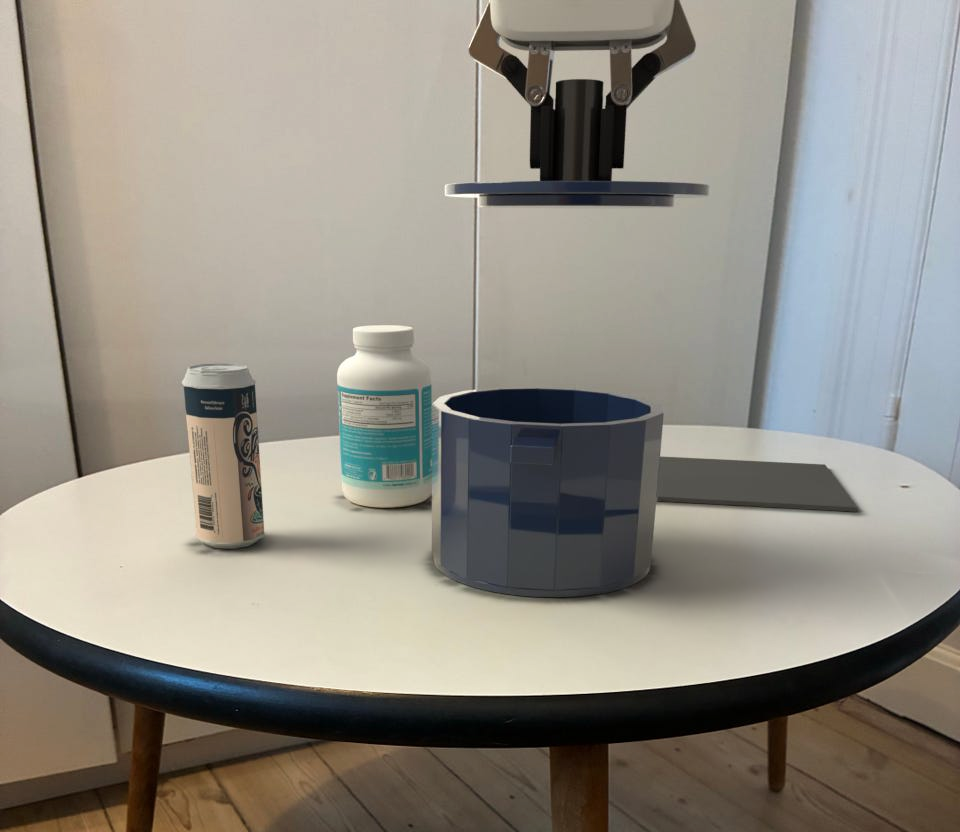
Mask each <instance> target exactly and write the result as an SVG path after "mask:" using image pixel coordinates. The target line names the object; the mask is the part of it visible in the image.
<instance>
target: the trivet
mask: <svg viewBox="0 0 960 832" xmlns="http://www.w3.org/2000/svg"><path fill="white" fill-rule="evenodd" d="M656 502H665V503H666V502H669V503H686V504H702V505H703V504H705V505H720V506H721V505H723V506H740V507H741V506H742V507H761V508H779V509H798V510H814V511H816V510H817V511H835V512H853V513H857V512H858V506H857V505H856V503H855V502H854V501H853V500H852V498H851V497H850V495H849V494H848V493H847V491H846V489H844V488H843V486H842V485H841V483H840V482H839V480H837V479H836V477H835V476H834V475H833V473H832V472H831V470H830V469H829V468H828V466H827V465H826V464H824V463H823V464H821V463H805V462H804V463H803V462H802V463H801V462H783V461H765V460H764V461H762V460H742V459H741V460H740V459H723V458H721V459H719V458H700V457H683V456H682V457H680V456H679V457H677V456H661V455H660V463H659V475H658V487H657V498H656Z"/></svg>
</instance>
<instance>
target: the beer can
mask: <svg viewBox="0 0 960 832" xmlns="http://www.w3.org/2000/svg"><path fill="white" fill-rule="evenodd" d="M181 384H182V386H183V395H184V405H185V416H186V418H185V419H186V428H187V441H188V451H189V460H190V461H189V464H190V472H191V474H190V475H191V484H192V495H193V497H192V498H193V507H194V519H195V530H196V533H195V538H196V539H197V540H198V541H199V542H201V543H203V544H205V545H206V546H207V547H210V548H215V549H222V550H223V549H226V550H229V549H241V548H246V547H249V546H252V545H254V544H256V543H257V542H258V541H259V540H260V539H262V538H263V537H264V536H265V535H266V532H265V521H264V506H263V505H264V503H263V490H262V489H263V488H262V475H261V474H262V473H261V459H260V441H259V440H260V439H259V427H258V426H259V425H258V424H259V423H258V410H257V397H256V396H257V393H256V380H255V379H254V378H253V377H252V375H251V373H250V369H249V368H248V366H247V365H246V364H239V363H229V362H228V363H224V362H223V363H222V362H221V363H220V362H214V363H198V364H193V365H188V366H187V369H186V372H185V376H184V378H183V380H182V381H181Z"/></svg>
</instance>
